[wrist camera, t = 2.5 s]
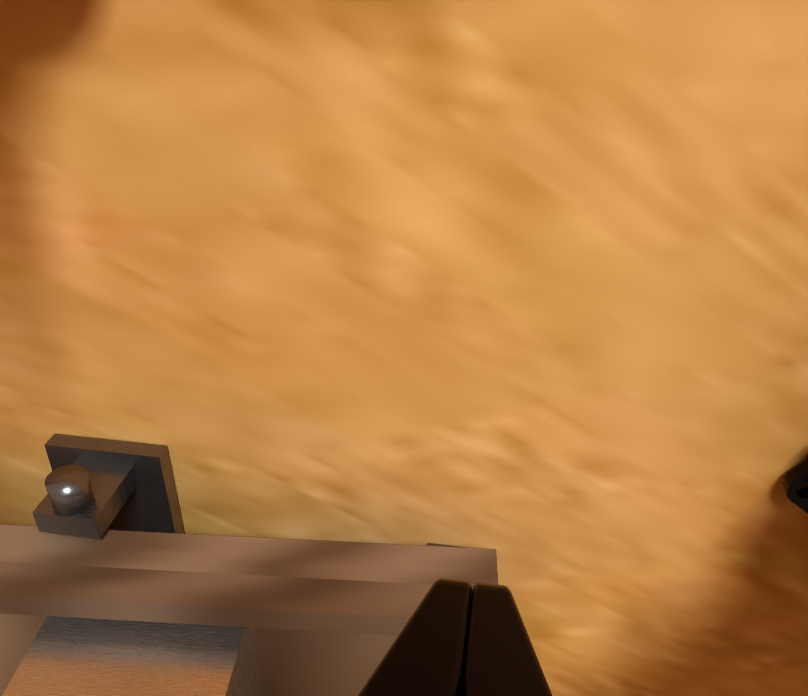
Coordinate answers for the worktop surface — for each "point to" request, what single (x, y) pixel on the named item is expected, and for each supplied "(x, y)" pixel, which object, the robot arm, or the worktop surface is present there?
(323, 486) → the worktop surface
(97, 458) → the pivot stand
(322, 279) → the worktop surface
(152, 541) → the wooden serving tray
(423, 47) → the worktop surface
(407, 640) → the robot arm
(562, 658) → the worktop surface
